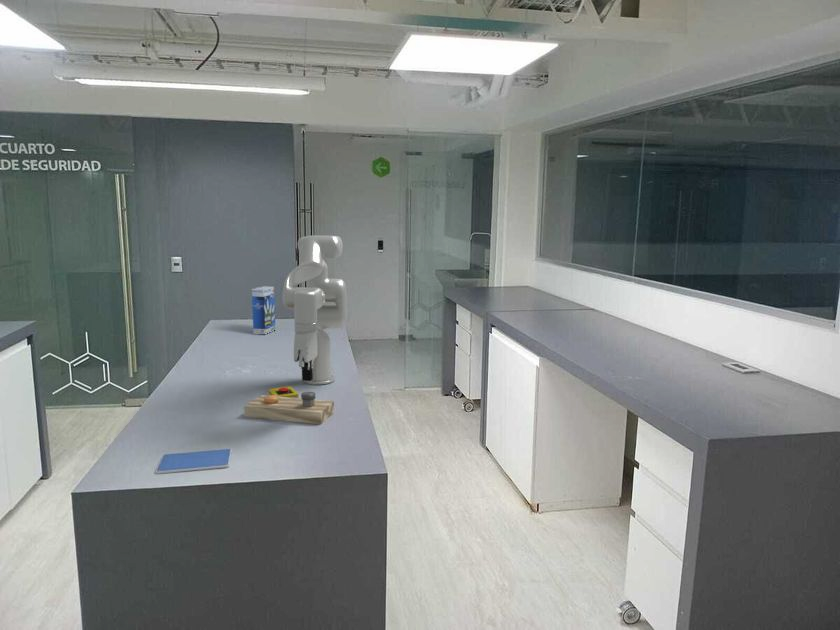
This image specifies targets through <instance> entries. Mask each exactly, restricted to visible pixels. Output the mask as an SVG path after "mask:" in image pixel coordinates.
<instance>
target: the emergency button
mask: <svg viewBox="0 0 840 630" xmlns="http://www.w3.org/2000/svg"><path fill="white" fill-rule="evenodd" d="M268 395H277V396H278V397H288V398H300V394H299V392H298V391H296V390H295V388H293V386H290V385H289V386H283V387H282V386H281V387H275V388H269V389H268V393H267V395H266V396H268Z"/></svg>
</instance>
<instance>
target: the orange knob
mask: <svg viewBox="0 0 840 630" xmlns="http://www.w3.org/2000/svg"><path fill="white" fill-rule="evenodd" d="M264 396H265V397H264V402H265V403H269V404H274V403H276V402H278V396H277V395H268V396H267V395H264Z"/></svg>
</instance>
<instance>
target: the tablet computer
mask: <svg viewBox="0 0 840 630" xmlns="http://www.w3.org/2000/svg"><path fill="white" fill-rule="evenodd" d="M232 454H233V450H232V449H231V448H223V449H211V450H204V451H203V450H201V451H200V450H199V451H190V452H189V451H188V452H187V451H186V452H179V453H178V452H177V453H166V454H163V455H162V456H161V458H160V461H159V462H158V465H157V467H156V470H155V472H154V474H155V475H162V474H163V475H164V474H170V473H171V474H173V473H174V474H175V473H182V472H193V471H205V470H214V469H215V470H216V469H227V468H230V465H231V460H232Z"/></svg>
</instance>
